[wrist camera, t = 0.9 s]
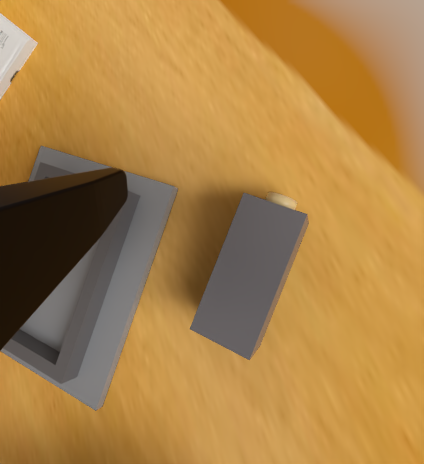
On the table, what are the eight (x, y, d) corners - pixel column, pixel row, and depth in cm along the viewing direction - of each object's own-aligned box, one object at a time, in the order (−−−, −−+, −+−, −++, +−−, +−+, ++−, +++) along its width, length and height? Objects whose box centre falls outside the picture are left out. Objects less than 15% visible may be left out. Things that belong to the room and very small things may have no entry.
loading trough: (102, 406, 25) (80, 420, 23) (-17, 333, 30) (-46, 338, 27) (178, 188, 25) (164, 180, 23) (48, 148, 30) (24, 138, 28)
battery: (260, 344, 22) (249, 360, 19) (209, 319, 24) (189, 329, 20) (313, 213, 22) (312, 201, 18) (259, 194, 24) (248, 180, 20)
